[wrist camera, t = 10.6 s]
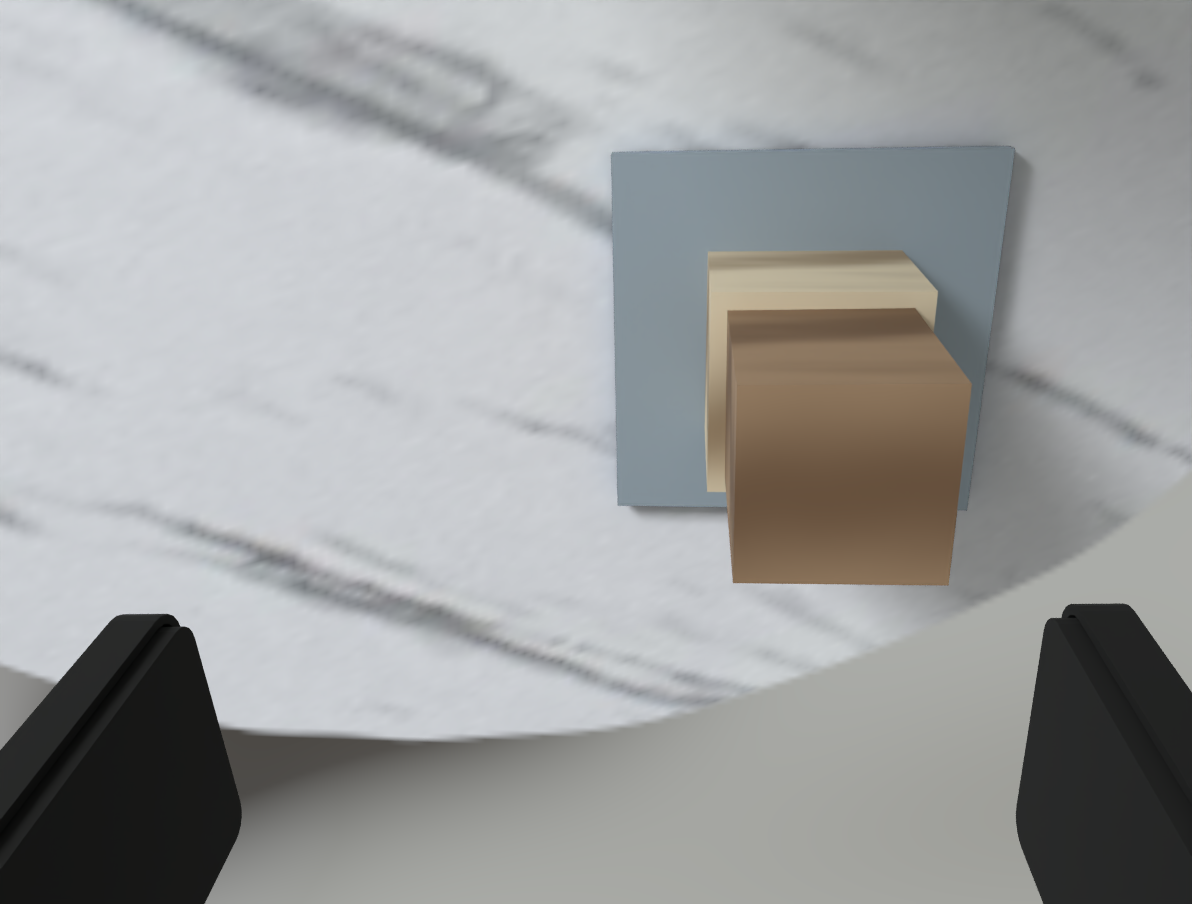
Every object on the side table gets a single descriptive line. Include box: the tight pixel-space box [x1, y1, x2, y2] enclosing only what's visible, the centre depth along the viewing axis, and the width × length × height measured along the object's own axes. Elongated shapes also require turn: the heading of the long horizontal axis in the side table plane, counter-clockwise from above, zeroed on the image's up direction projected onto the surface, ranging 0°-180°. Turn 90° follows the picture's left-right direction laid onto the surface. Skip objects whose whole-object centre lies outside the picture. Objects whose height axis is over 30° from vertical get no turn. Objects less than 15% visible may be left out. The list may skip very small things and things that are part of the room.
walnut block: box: [725, 308, 972, 585], centre depth 26 cm, size 5×5×6 cm
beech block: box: [705, 250, 938, 492], centre depth 31 cm, size 6×6×5 cm
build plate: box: [611, 146, 1015, 510], centre depth 33 cm, size 12×12×1 cm
